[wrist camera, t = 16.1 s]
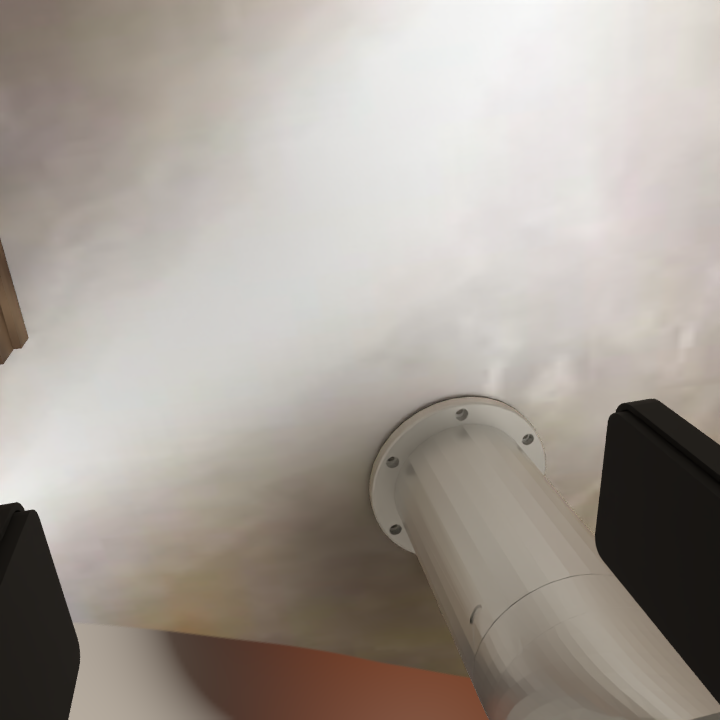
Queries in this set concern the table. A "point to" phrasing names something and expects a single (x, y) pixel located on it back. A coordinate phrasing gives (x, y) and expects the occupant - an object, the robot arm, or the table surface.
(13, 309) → the wooden stepped riser
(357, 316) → the table surface
